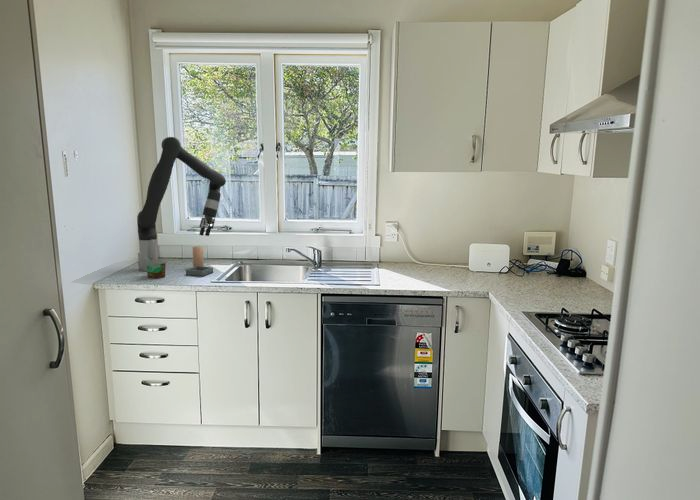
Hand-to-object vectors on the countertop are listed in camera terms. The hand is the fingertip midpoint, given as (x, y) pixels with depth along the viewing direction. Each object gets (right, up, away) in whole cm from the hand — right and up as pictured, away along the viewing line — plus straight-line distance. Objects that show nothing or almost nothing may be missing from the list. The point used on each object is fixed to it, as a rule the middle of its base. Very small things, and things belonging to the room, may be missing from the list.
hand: (204, 235), depth 270 cm
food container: (-19, -23, -23) cm, 38 cm away
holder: (+2, -21, -12) cm, 25 cm away
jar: (-4, -19, +1) cm, 19 cm away
